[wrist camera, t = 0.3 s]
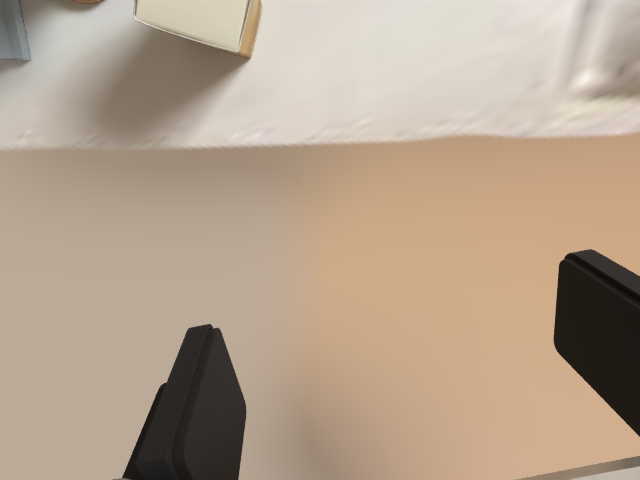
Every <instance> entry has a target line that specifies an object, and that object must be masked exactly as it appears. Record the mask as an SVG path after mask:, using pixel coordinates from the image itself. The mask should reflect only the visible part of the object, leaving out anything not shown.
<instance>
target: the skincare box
mask: <svg viewBox="0 0 640 480" xmlns="http://www.w3.org/2000/svg"><path fill="white" fill-rule="evenodd" d="M261 14H262V4H261V0H134V14H133V16H134V19H135V20H136V21H138V22H141V23H143V24H146V25H148V26H151V27H154V28H156V29H159V30H162V31H165V32H168V33H171V34H174V35H177V36H180V37H183V38H186V39H189V40H192V41H195V42H198V43H201V44H204V45H207V46H210V47H213V48H216V49H219V50H222V51H226V52H229V53H233V54H236V55H240V56H243V57H247V58H251V57H252V54H253V50H254V46H255V42H256V37H257V33H258V29H259V24H260V19H261Z"/></svg>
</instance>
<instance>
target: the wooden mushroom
mask: <svg viewBox="0 0 640 480" xmlns="http://www.w3.org/2000/svg"><path fill="white" fill-rule="evenodd" d="M72 1H75V2H79V3H96V2H100V1H102V0H72Z"/></svg>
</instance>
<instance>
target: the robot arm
mask: <svg viewBox="0 0 640 480" xmlns="http://www.w3.org/2000/svg"><path fill="white" fill-rule="evenodd" d="M554 345H555V347H556V350H557V352H558V353H559V354H560V355H561V356H562V357H563V358H564V359H565V360H566V361H567V362H568V363H569V364H570V365H571V366H572V368H573V369H574V370H575V371H576V372H577V373H578V374H579V375H580V376H582V378H583V379H584V380H585V381H586V382H587V383H588V384H589V385H590V386H591V387H592V388H593V389H594V390H595V391H596V392H597V393H598V394H599V395H600V396H601V397H602V398H603V399H604V400H605V401H606V402H607V403H608V404H609V406H610V407H611V408H612V409H613V410H614V411H615V412H616V413H617V414H618V415H619V416H620V417H621V418H622V419H623V420H624V421H625V422H626V423H627V424H628V425H629V426H630V427H631V428H632V429H633V430H634V431H635V432H636V433H637V434H638V435H639V436H640V276H638V275H636V274H635V273H633V272H631V271H629V270H628V269H626V268H624V267H622V266H621V265H619V264H617V263H615V262H614V261H612V260H610V259H608V258H607V257H605V256H603V255H602V254H600V253H598V252H596V251H594V250H592V249H590V250H584V251H579V252H573V253H569V254H567V255H566V256H565V258H564V260H562V261H561V262H560V264H559V274H558V288H557V302H556V315H555V328H554ZM245 421H246V404H245V400H244V397H243V394H242V392H241V388H240V386H239V382H238V380H237V377H236V374H235V371H234V368H233V365H232V362H231V359H230V356H229V353H228V351H227V348H226V345H225V342H224V339H223V336H222V333H221V331H220V329H219V328H214V329H213V327H212V325H211V324H207V325H202V326H197V327H192V328H189V329H188V330H187V332H186V335H185V338H184V340H183V343H182V345H181V348H180V350H179V353H178V356H177V358H176V360H175V363H174V366H173V368H172V371H171V373H170V376H169V378H168V381H167V383H164V384H163V385H161V387H160V388H159V390H158V392H157V394H156V397H155V399H154V402H153V404H152V407H151V409H150V412H149V414H148V416H147V419H146V421H145V424H144V426H143V428H142V431H141V434H140V436H139V438H138V441H137V443H136V446H135V448H134V450H133V453H132V455H131V458H130V460H129V462H128V465H127V467H126V470H125V472H124V475H123V477H122V478H121V479H113V480H238V478H239V469H240V461H241V453H242V444H243V437H244V429H245ZM517 480H640V456H637V457H632V458H626V459H621V460H616V461H611V462H605V463H600V464H595V465H590V466H584V467H579V468H574V469H569V470H564V471H558V472H553V473H548V474H543V475H538V476H533V477H527V478H522V479H517Z"/></svg>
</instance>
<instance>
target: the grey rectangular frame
mask: <svg viewBox="0 0 640 480" xmlns="http://www.w3.org/2000/svg"><path fill="white" fill-rule="evenodd" d="M0 58H3V59H21V60H31V57H30V52H29V47H28V42H27V38H26V33H25V28H24V23H23V18H22V13H21V8H20V3H19V0H0Z"/></svg>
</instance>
